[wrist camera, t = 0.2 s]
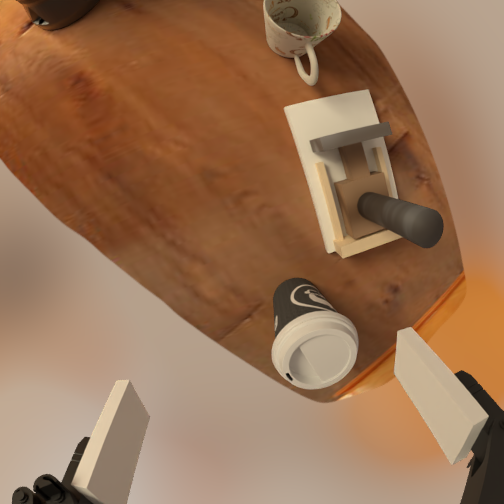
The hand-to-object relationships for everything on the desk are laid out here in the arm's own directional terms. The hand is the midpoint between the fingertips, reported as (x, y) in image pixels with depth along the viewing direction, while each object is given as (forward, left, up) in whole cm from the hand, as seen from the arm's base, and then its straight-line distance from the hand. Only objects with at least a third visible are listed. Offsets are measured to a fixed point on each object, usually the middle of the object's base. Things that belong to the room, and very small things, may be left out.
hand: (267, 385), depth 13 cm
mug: (-22, +14, -28) cm, 38 cm away
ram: (-3, +16, -27) cm, 31 cm away
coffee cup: (+11, +4, -28) cm, 30 cm away
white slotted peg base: (-5, +16, -28) cm, 32 cm away
